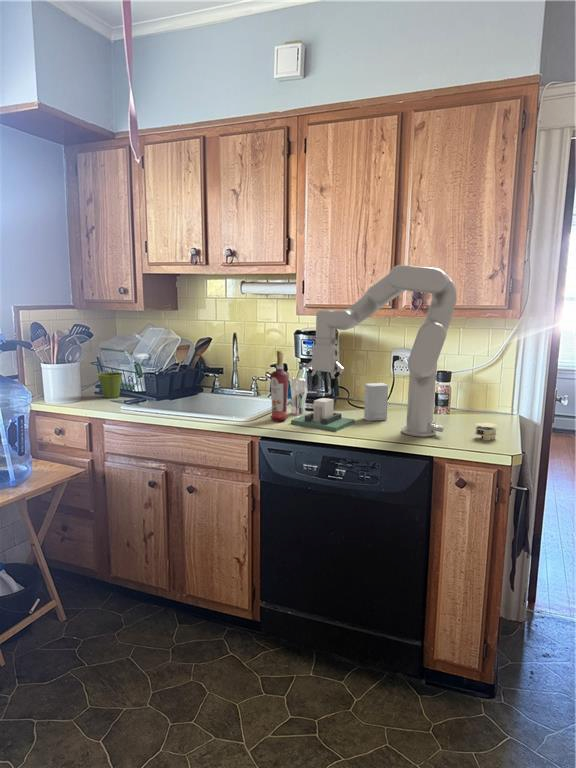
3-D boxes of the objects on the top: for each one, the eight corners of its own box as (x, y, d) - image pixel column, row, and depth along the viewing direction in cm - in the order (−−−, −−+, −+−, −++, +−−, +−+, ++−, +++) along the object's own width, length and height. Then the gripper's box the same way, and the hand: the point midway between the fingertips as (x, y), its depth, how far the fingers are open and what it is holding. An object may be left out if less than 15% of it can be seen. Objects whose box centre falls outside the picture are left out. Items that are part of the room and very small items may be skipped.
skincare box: (381, 417, 220) (383, 382, 218) (387, 420, 215) (389, 384, 212) (362, 417, 219) (364, 382, 216) (367, 421, 213) (369, 385, 210)
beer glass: (288, 412, 227) (288, 377, 224) (302, 411, 229) (303, 377, 227) (293, 415, 220) (294, 380, 218) (309, 414, 223) (310, 379, 220)
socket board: (354, 423, 210) (355, 414, 209) (336, 431, 196) (336, 422, 196) (311, 416, 220) (311, 407, 220) (291, 423, 207) (291, 415, 206)
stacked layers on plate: (483, 434, 197) (484, 420, 196) (504, 440, 189) (505, 425, 188) (465, 438, 191) (467, 423, 191) (486, 444, 184) (487, 429, 183)
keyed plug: (332, 418, 210) (333, 399, 208) (322, 423, 202) (323, 402, 201) (322, 417, 212) (322, 397, 211) (311, 421, 205) (311, 401, 204)
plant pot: (116, 393, 261) (115, 371, 259) (128, 397, 253) (127, 374, 251) (93, 396, 252) (92, 373, 251) (105, 400, 244) (104, 376, 243)
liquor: (291, 420, 213) (293, 351, 208) (280, 423, 207) (281, 352, 202) (278, 417, 217) (278, 349, 213) (266, 420, 212) (266, 351, 207)
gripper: (350, 342, 201) (348, 388, 204) (310, 340, 210) (309, 383, 213) (341, 344, 195) (339, 391, 198) (301, 341, 204) (300, 386, 207)
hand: (324, 386), depth 206 cm, fingers open, 7 cm apart
